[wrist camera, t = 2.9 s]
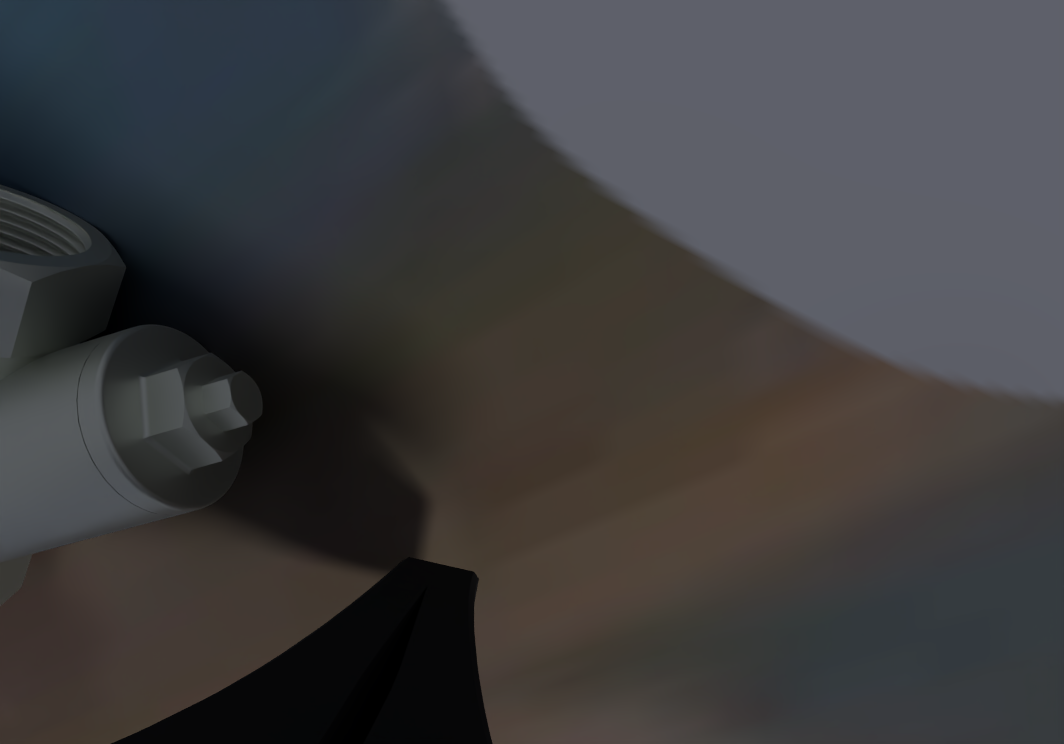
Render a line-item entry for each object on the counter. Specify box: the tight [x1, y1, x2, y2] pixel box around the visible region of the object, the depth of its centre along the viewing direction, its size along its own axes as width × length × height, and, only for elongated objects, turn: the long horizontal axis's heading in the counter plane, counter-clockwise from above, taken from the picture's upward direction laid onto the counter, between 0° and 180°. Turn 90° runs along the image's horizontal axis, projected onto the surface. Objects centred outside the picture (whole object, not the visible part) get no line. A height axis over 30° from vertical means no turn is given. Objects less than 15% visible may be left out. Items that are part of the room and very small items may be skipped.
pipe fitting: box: [0, 185, 263, 606], centre depth 10 cm, size 8×4×7 cm
